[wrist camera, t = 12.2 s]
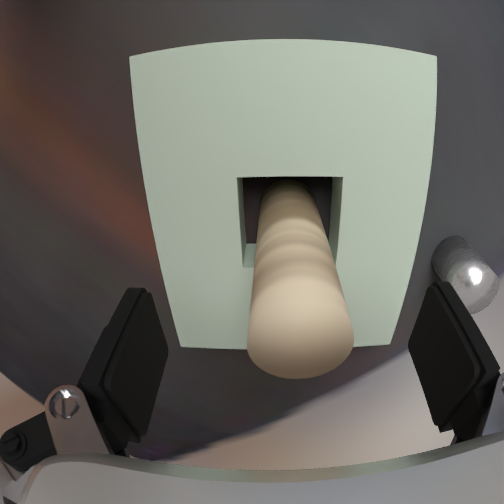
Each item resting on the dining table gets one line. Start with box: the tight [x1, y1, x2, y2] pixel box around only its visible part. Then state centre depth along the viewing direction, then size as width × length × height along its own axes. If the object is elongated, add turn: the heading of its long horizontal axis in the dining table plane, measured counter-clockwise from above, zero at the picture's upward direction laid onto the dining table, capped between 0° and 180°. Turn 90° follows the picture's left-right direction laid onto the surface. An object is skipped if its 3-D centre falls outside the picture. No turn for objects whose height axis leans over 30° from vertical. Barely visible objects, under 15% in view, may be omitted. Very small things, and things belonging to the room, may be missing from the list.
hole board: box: [129, 39, 437, 349], centre depth 19 cm, size 20×16×3 cm
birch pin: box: [247, 179, 354, 379], centre depth 15 cm, size 4×4×12 cm
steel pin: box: [432, 236, 499, 314], centre depth 19 cm, size 4×4×5 cm
